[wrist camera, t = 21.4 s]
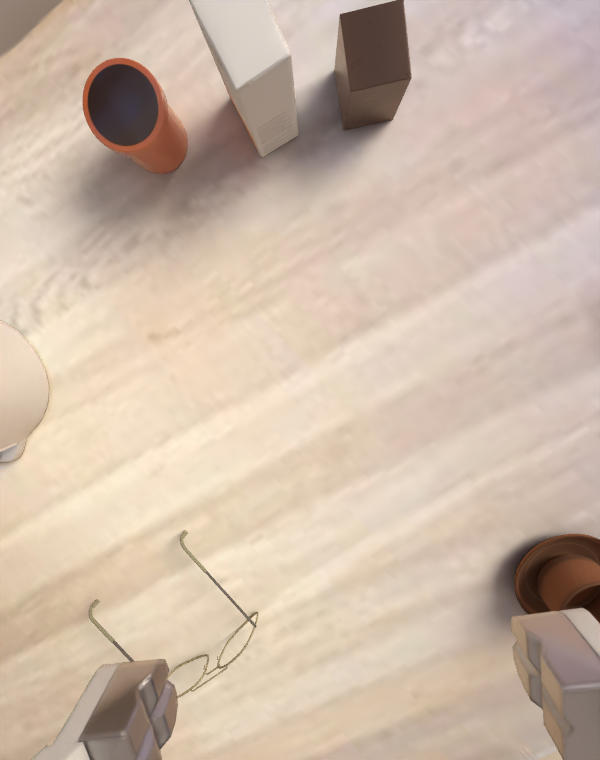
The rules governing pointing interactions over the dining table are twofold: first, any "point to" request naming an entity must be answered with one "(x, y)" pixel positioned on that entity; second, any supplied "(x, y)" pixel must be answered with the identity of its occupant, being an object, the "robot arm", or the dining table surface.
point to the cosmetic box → (252, 67)
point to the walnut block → (372, 63)
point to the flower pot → (134, 115)
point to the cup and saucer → (560, 575)
